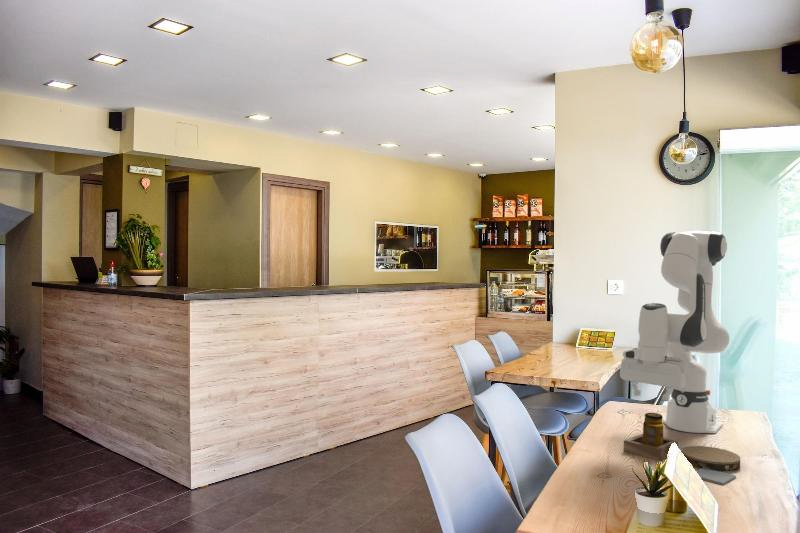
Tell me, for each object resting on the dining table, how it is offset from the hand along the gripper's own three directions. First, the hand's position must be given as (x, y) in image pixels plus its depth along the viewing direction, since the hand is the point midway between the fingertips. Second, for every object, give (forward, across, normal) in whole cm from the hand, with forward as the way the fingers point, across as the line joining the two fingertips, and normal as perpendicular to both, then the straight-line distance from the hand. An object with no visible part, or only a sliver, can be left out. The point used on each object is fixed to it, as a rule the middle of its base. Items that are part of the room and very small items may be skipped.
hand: (651, 398), depth 199 cm
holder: (+17, 0, -1) cm, 17 cm away
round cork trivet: (+18, -17, -5) cm, 25 cm away
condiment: (+18, 0, -1) cm, 18 cm away
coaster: (+17, -22, +8) cm, 29 cm away
